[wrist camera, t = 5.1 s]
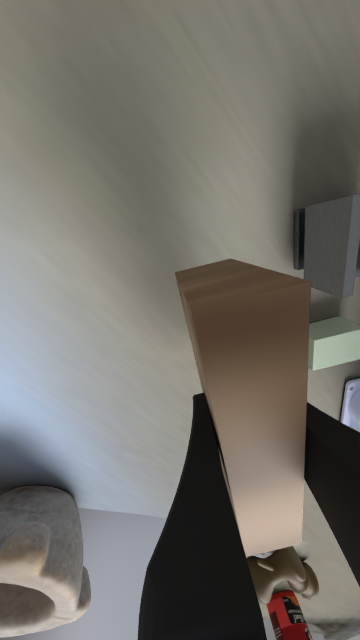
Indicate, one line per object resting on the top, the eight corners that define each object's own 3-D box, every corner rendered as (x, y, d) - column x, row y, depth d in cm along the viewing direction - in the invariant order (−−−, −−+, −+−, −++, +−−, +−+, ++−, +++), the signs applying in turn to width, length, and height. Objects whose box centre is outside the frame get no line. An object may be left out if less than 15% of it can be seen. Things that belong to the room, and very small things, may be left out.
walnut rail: (252, 436, 16) (301, 543, 10) (215, 445, 16) (245, 557, 10) (230, 258, 10) (311, 281, 5) (174, 272, 10) (191, 310, 5)
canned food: (299, 593, 53) (332, 678, 42) (273, 604, 54) (300, 689, 44) (286, 587, 50) (318, 676, 40) (259, 599, 51) (284, 688, 41)
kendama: (280, 569, 47) (230, 550, 39) (314, 549, 45) (269, 526, 38) (297, 613, 41) (243, 601, 34) (337, 593, 40) (289, 575, 32)
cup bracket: (349, 265, 19) (426, 276, 14) (289, 280, 19) (342, 297, 14) (357, 193, 17) (455, 170, 11) (289, 209, 17) (353, 195, 11)
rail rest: (336, 344, 22) (361, 358, 20) (293, 354, 22) (312, 370, 20) (339, 316, 21) (366, 327, 18) (294, 327, 21) (314, 340, 18)
